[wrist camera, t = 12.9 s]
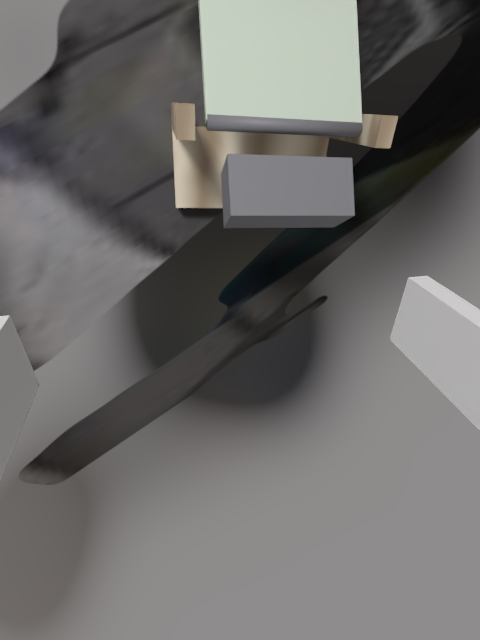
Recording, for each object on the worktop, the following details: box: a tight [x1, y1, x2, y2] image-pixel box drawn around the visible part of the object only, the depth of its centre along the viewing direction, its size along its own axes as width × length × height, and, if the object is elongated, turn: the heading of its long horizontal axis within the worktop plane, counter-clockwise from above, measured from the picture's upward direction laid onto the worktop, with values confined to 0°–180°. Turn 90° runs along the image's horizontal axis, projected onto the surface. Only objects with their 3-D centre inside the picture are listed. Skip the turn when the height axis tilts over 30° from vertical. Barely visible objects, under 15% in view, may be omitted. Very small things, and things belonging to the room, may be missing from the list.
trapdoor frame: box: [171, 102, 398, 208], centre depth 37 cm, size 19×11×16 cm, turn 87°
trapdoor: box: [198, 0, 363, 228], centre depth 31 cm, size 14×21×4 cm
